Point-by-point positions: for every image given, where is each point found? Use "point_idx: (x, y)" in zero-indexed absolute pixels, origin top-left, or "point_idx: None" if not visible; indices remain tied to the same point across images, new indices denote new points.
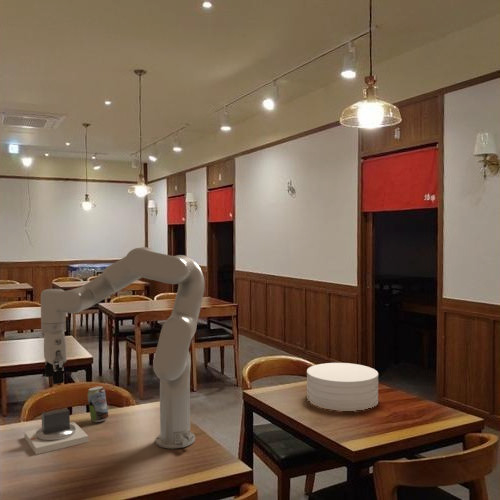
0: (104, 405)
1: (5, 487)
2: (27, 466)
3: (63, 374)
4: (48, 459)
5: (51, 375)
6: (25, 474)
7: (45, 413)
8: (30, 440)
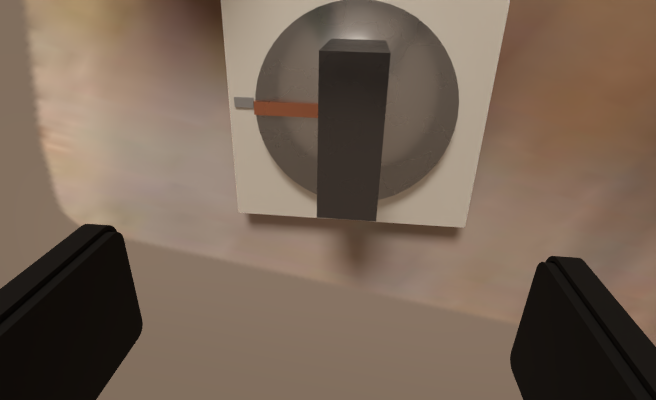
0: None
1: None
2: None
3: (652, 352)
4: (546, 191)
5: (125, 279)
6: None
7: (336, 201)
8: (359, 220)
